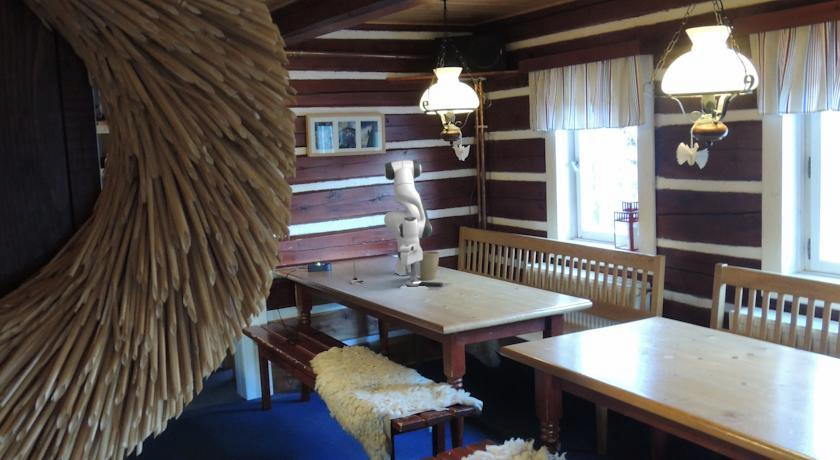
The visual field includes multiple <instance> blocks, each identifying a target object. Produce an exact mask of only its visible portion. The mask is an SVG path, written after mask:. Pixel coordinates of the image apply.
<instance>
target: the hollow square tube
mask: <svg viewBox="0 0 840 460" xmlns="http://www.w3.org/2000/svg"><path fill="white" fill-rule="evenodd" d="M405 268H406V277H410V276H417V277H418V276H420V262H416V263H413V264H411V269H412V272H408V269H407V266H406V265H405Z"/></svg>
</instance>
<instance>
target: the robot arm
mask: <svg viewBox="0 0 840 460" xmlns="http://www.w3.org/2000/svg"><path fill="white" fill-rule="evenodd" d="M383 167H384V168H383V175H384V177H385V178H386V180H389V181H393V194H394V201H395V202H396V204H398V205H400V206H402V207H404V208H405V209H404V210H403V209H401V210H393V211H389V212H386V213H385V214H384V219H383V222H384V225H385V226H386V228H387V229H389V230H390V231H391V232H392V233H393V235H394V236H395V238H396V243H397V259H396V261H395V262H396V264H395V266H396V267H395V268H396V270H395V272H396V273H397V274H401V275H400V276H403V275H406V268H405V265H406V266H407V269H408V272H412V269H411V264H413V263H416V262H419V261H421V260H423V249H422V247H421V245H420V239H428V238H429V237H430V236H431V235H432V233H433V227H432V225H431V222H430V219H429V216H428V212H427V209H426V204H425V202H424V199H423V197H422V195H421V193H419V192H418V191H417V190H416V187H415V179H417V178H419V177H420V176H421V174H422V165H421V163H420V161H419V160H417V159H412V160H407V159H406V160H398V161H393V162H391V161H389V162H386V163H385V164H384V166H383ZM397 274H396V275H397Z"/></svg>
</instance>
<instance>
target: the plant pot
mask: <svg viewBox="0 0 840 460" xmlns="http://www.w3.org/2000/svg"><path fill="white" fill-rule="evenodd" d="M422 252H423V260H421V261H419V262H420V275H419V277H420V280H422V281H433V280H435V278H436V274H437V271H438V266H439V260H440V259H439V258H440V251H436V250H435V251H434V250H429V251H427V250H426V251H425V250H424V251H423V250H422Z"/></svg>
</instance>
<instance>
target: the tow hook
mask: <svg viewBox="0 0 840 460" xmlns="http://www.w3.org/2000/svg"><path fill="white" fill-rule="evenodd" d="M352 262H353V264H352V267H353V273H352V275H353V276H352V280H357V279H358V278H357V272H356V271H357V270H356V261H355V260H353V261H352Z"/></svg>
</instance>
